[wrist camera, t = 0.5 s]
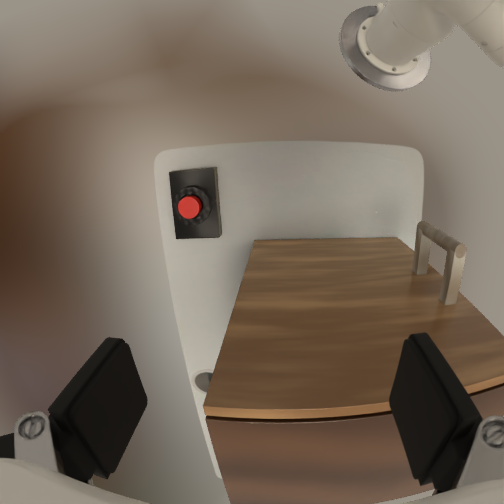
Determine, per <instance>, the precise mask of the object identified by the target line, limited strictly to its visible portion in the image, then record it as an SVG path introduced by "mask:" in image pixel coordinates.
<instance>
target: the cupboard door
mask: <svg viewBox="0 0 504 504" xmlns="http://www.w3.org/2000/svg"><path fill="white" fill-rule="evenodd" d="M431 240H432V241H433V242H435V243H436V244H437V245H439V246H440V247H442V248H443V249H445V250H446V251H447V256H446V263H445V269H444V275H443V276H442V275H441V274H439V273H438V272H437V271H436V270H435V269H434V268H432V266H430V265H429V264H428V262H429V254H430V246H431ZM465 256H466V246H465V245H464V244H462V243H461V242H459V241H457V240H456V239H454V238H453V237H451V236H449V235H447V234H446V233H444V232H442V231H441V230H439V229H437V228H435V227H434V226H432V225H430V224H428V223H426V222H425V221H420V222H419V223H418V225H417V232H416V243H415V252H414V251H413V250H412V249H410V248H409V247H408V246H407V245H406V244H404V243H403V242H402V241H401V240H400V239H398V238H334V239H287V240H255V241H254V244H253V247H252V250H251V253H250V257H249V260H248V263H247V266H246V269H245V273H244V276H243V279H242V282H241V285H240V289H239V292H238V295H237V298H236V301H235V305H234V308H233V311H232V314H231V318H230V321H229V324H228V327H227V330H226V334H225V337H224V340H223V343H222V346H221V350H220V353H219V356H218V359H217V362H216V366H215V369H214V372H213V375H212V379H211V382H210V385H209V388H208V391H207V395H206V398H205V401H204V404H203V408H204V412H205V415H208V416H220V417H235V418H259V419H300V418H323V417H338V416H350V415H360V414H369V413H376V412H384V411H391V408H390V405H389V397H390V393H391V389H392V386H393V382H394V379H395V375H396V371H397V368H398V364H399V360H400V355H401V351H402V347H403V343H404V340H405V339H408V337H409V335H411V334H416V333H423V332H426V333H427V334H428V335H429V336H430V338H431V339H432V340H433V342H434V343H435V345H436V346H437V348H438V349H439V350H440V352H441V353H442V355H443V356H444V358H445V359H446V361H447V362H448V364H449V365H450V367H451V368H452V370H453V371H454V373H455V374H456V376H457V377H458V379H459V380H460V382H461V383H462V385H463V387H464V388H465V390H466V391H467V393H468V394H470V393H473V392H477V391H480V390H483V389H486V388H490V387H493V386H496V385H499V384H502V383H504V336H503V335H502V334H501V333H500V332H499V331H498V330H497V329H496V328H495V327H494V326H493V325H492V324H491V323H490V321H489V320H488V319H487V318H485V316H484V315H483V314H482V313H481V312H480V311H478V309H477V308H475V306H473V304H472V303H471V302H469V301H468V300H467V299H466V298H465V297H464V296H463V295H462V294H461V293H460V292H459V288H460V284H461V279H462V273H463V268H464V262H465Z"/></svg>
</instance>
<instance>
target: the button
mask: <svg viewBox="0 0 504 504" xmlns="http://www.w3.org/2000/svg"><path fill="white" fill-rule="evenodd" d="M201 209H202V204H201V201H200V200H199V198H197V197H196V196H193V195H190V196H187V197H185V198H183V199H181V201H180V202H179V205H178V210H179V213H180V214H181V215H182V216H183V217H184V218H187V219H191V218H194V217H195V216H197V215H198V214H199V213H200V212H201Z"/></svg>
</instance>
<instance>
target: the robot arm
mask: <svg viewBox="0 0 504 504" xmlns="http://www.w3.org/2000/svg"><path fill="white" fill-rule="evenodd" d="M386 2H387V4H386V6H385V7H384V4H383V3H377V9H378V13H377V14H376V16H373V17H370V18H368V19H366V20H365V21H364V22H363V23H362V24H361V25H360V27H359V29H358V32H357V44H358V46H359V49H360V51H361V53H362V55H363V56H364V57H365V58H366V60H367V61H368V62H369V63H370V64H371V65H373V66H374V67H376V68H377V69H379V70H381V71H383V72H386V73H388V74H394V75H401V74H405V73H408V72H410V71H411V70H413V69H414V68H415V67H416V66H417V64H418V62H419V59H420V55H421V54H422V53H424V52H425V51H427V50H428V49H430V48H432V47H433V46H435V45H436V44H438V43H439V42H441V41H443V40H444V39H446V38H447V37H449V36H450V35H451V33H452V32H453V30H454V27H455V24H456V25H457V26H459V27H460V28H461V29H462V30H463V31H464V32H465V33H466V34H467V35H468V36H469V37H470V38H471V39H472V40H473V41H474V42H475V43H476V44H477V45H478V46H479V47H480V48H481V49H482V50H483V51H484V52H485V54H486V55H487V56H488V57H489V58H490V59H491V60H492V61H493V62H495V63H496V64H497V65H498V66H500V67H502V68H504V0H387V1H386ZM362 28H363V29H362ZM366 53H367V54H368V55H367V54H366ZM413 60H414V61H413ZM392 69H393V70H394V71H393V70H392ZM389 405H390V408H391V411H392V414H393V417H394V419H395V422H396V425H397V428H398V431H399V434H400V437H401V440H402V443H403V446H404V449H405V453H406V456H407V459H408V462H409V465H410V469H411V472H412V475H413V478H414V479H415V480H416V479H418V481H419V484H420V486H423V485H426V484H430V483H433V485H434V488H435V491H434V493H433V494H432V496H429V497H426V498H423V499H419V500H415V501H411V502H407V503H403V504H504V417H503V416H497V415H494V416H489V417H487V418H485V419H484V420H483V418H482V417H481V415H480V413H479V411H478V409H477V408H476V406H475V404H474V403H473V401H472V399H471V398H470V396H469V394H468V393H467V391H466V390H465V388H464V387H463V385H462V383H461V382H460V380H459V379H458V377H457V376H456V374H455V373H454V371H453V370H452V368H451V367H450V365H449V364H448V362H447V361H446V359H445V358H444V356H443V355H442V353H441V352H440V350H439V349H438V348H437V346H436V345H435V343H434V342H433V340H432V339H431V338H430V336H429V335H428V334H427V333H426V332H423V333H416V334H411V335H409V337H408V339H405V340H404V343H403V347H402V351H401V355H400V360H399V364H398V368H397V371H396V375H395V379H394V382H393V386H392V389H391V393H390V397H389ZM146 406H147V396H146V393H145V391H144V388H143V386H142V383H141V380H140V377H139V374H138V371H137V368H136V365H135V362H134V360H133V357H132V354H131V350H130V347H129V345H128V344H127V343H125V341H124V340H123V339H120V338H110V337H109V338H106V339H105V340H104V342H103V343H102V344H101V345H100V346H99V347H98V349H97V350H96V351H95V352H94V353H93V355H92V356H91V357H90V358H89V359H88V361H87V362H86V363H85V364H84V365H83V366H82V368H81V369H80V370H79V371H78V372H77V374H76V375H75V376H74V377H73V379H72V380H71V381H70V382H69V384H68V385H67V386H66V387H65V388H64V390H63V391H62V392H61V393H60V395H59V396H58V397H57V398H56V400H55V401H54V402H53V403H52V405H51V406H50V407H49V409H48V411H49V413H50V415H49V417H47V416H46V415H45V414H44V413H42V412H38V411H34V412H29V413H26V414H25V415H23V416H21V417H20V418H19V419H18V420H17V422H16V424H15V428H14V433H11V434H8V435H4V436H0V504H150V503H146V502H142V501H139V500H135V499H131V498H128V497H124V496H121V495H118V494H115V493H112V492H109V491H106V490H103V489H100V488H97V487H94V485H93V482H92V479H91V477H92V476H93V474H94V475H96V476H99V477H102V478H105V479H108V477H109V475H110V473H113V472H115V470H116V468H117V466H118V464H119V462H120V460H121V458H122V455H123V453H124V451H125V449H126V447H127V445H128V443H129V441H130V439H131V437H132V435H133V433H134V430H135V428H136V427H137V425H138V423H139V420H140V418H141V416H142V414H143V412H144V410H145V408H146Z"/></svg>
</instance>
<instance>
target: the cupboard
mask: <svg viewBox="0 0 504 504" xmlns="http://www.w3.org/2000/svg"><path fill="white" fill-rule="evenodd" d="M469 396H470V398H471V399H472V401H473V403H474V404H475V406H476V408H477V409H478V411H479V413H480V415H481V417H482V418H483V420H484V419H485V418H487V417H489V416H494V415H497V416H503V415H504V383H502V384H499V385H496V386H493V387H490V388H486V389H483V390H480V391H477V392H473V393H470V394H469ZM206 423H207V427H208V430H209V434H210V438H211V441H212V445H213V448H214V452H215V455H216V459H217V462H218V465H219V469H220V472H221V475H222V478H223V481H224V485H225V488H226V491H227V494H228V497H229V500H230V503H231V504H374V503H379V502H384V501H389V500H394V499H398V498H402V497H407V496H411V495H415V494H418V493H422V492H425V491H429V490H432V489H435V488H434V485H433V483H430V484H426V485H423V486H420V484H419V481H418V479H416V480H415V479H414V478H413V475H412V472H411V469H410V465H409V462H408V459H407V456H406V453H405V449H404V446H403V443H402V440H401V437H400V434H399V431H398V428H397V425H396V422H395V419H394V417H393V414H392V411H384V412H376V413H369V414H360V415H350V416H338V417H323V418H300V419H259V418H235V417H220V416H208V415H207V416H206Z"/></svg>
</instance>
